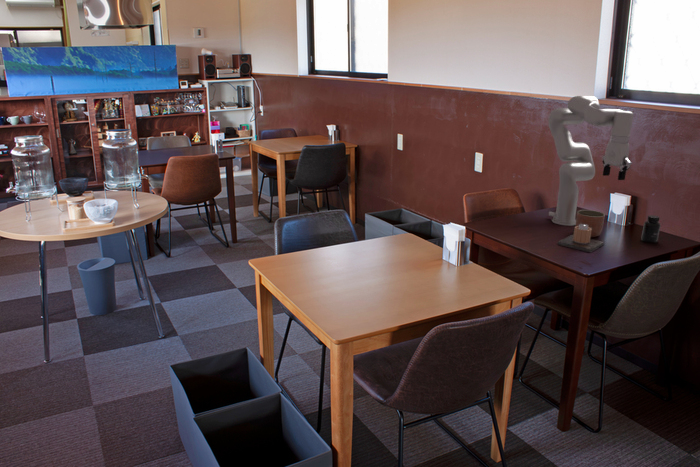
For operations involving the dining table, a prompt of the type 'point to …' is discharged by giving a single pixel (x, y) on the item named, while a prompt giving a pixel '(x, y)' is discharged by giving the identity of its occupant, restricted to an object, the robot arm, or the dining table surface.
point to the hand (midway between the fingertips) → (613, 177)
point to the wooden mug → (582, 235)
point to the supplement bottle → (651, 229)
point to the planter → (591, 220)
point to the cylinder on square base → (581, 246)
